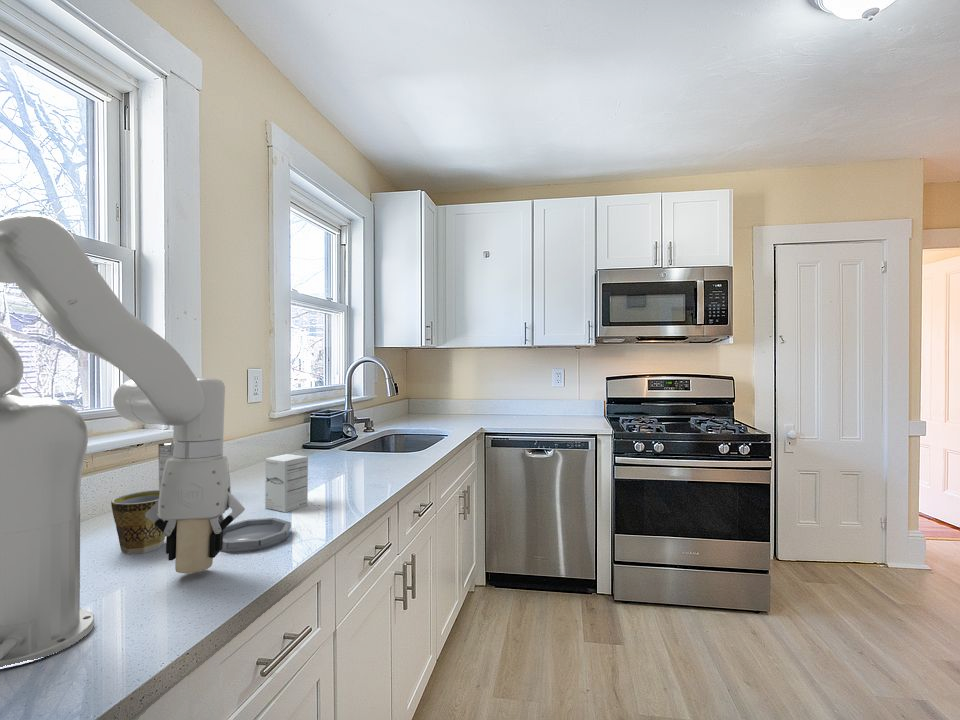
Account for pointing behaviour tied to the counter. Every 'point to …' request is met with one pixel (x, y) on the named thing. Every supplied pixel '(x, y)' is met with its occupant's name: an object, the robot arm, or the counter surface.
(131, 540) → the ceramic cup
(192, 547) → the candle
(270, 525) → the slate dish
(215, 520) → the robot arm
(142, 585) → the counter surface
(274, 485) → the supplement box
